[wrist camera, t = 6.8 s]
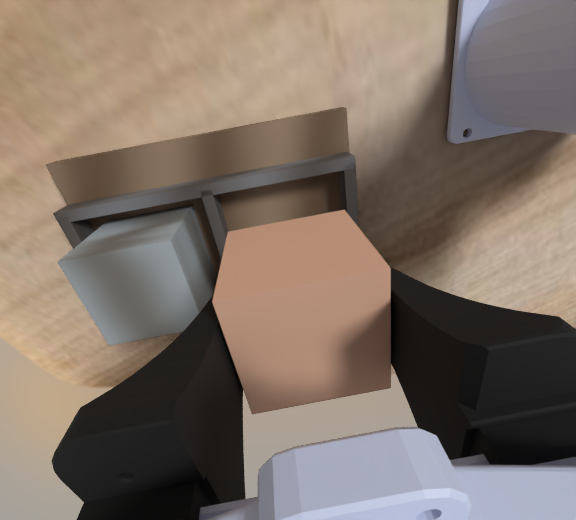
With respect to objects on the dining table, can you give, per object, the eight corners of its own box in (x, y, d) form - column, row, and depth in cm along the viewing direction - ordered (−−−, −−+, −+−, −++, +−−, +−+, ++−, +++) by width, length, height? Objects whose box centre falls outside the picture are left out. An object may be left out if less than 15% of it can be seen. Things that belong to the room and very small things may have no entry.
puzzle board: (341, 107, 17) (380, 112, 11) (353, 285, 22) (383, 343, 17) (56, 161, 17) (-37, 190, 11) (142, 325, 22) (107, 395, 17)
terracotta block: (344, 209, 13) (390, 267, 8) (351, 303, 15) (390, 387, 11) (227, 231, 13) (212, 302, 8) (253, 322, 15) (252, 414, 11)
